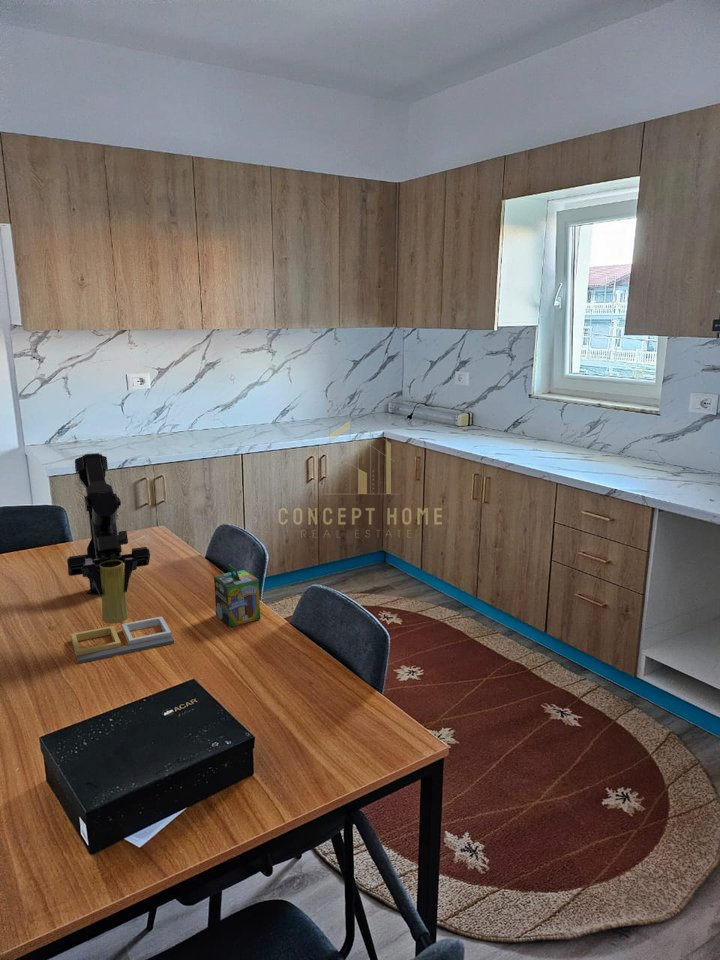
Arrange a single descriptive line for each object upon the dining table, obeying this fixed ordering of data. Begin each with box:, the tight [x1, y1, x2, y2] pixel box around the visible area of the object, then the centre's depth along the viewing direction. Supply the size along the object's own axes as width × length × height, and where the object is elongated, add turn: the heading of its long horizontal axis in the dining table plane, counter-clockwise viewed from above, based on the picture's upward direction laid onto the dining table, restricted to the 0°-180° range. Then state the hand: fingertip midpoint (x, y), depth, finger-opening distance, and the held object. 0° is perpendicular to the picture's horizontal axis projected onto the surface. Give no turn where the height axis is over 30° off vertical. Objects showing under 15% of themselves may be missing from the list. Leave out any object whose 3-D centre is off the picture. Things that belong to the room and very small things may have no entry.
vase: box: [99, 560, 130, 624], centre depth 164 cm, size 6×6×14 cm
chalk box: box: [213, 563, 261, 628], centre depth 180 cm, size 9×9×15 cm
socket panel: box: [70, 616, 175, 664], centre depth 167 cm, size 22×12×2 cm, turn 118°
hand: (113, 593), depth 163 cm, fingers closed on vase, 5 cm apart
